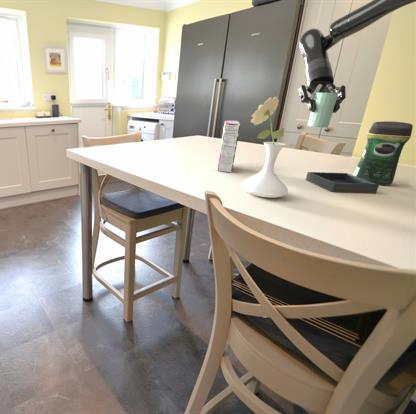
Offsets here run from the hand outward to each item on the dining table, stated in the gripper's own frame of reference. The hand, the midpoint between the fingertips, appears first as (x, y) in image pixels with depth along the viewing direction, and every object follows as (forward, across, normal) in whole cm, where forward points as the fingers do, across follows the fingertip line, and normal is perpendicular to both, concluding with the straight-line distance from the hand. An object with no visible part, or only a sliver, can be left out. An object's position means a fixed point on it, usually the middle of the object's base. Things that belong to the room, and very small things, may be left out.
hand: (324, 110), depth 96 cm
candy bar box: (+20, -30, +10) cm, 37 cm away
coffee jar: (+23, +14, +7) cm, 27 cm away
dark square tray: (+29, +1, +1) cm, 29 cm away
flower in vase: (+39, -25, -10) cm, 47 cm away
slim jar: (+3, 0, +5) cm, 6 cm away
